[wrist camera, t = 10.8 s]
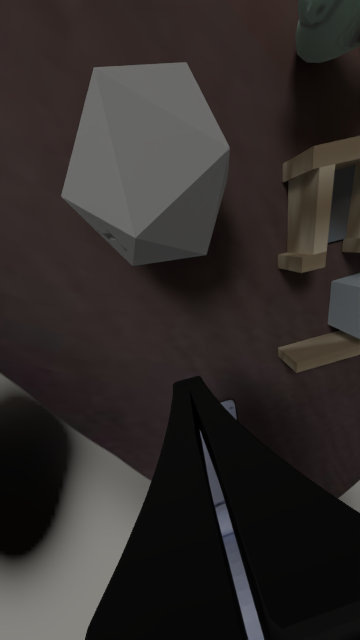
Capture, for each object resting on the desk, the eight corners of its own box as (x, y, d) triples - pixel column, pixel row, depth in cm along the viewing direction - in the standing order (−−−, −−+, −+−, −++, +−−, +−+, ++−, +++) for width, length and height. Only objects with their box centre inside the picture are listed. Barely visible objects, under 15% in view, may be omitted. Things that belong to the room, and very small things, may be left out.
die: (76, 129, 13) (-18, 203, 7) (188, -12, 8) (150, -73, 3) (154, 230, 18) (131, 312, 13) (244, 176, 14) (264, 267, 9)
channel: (341, 338, 22) (368, 351, 20) (278, 356, 22) (296, 372, 19) (373, 143, 15) (423, 121, 12) (277, 165, 14) (308, 147, 12)
